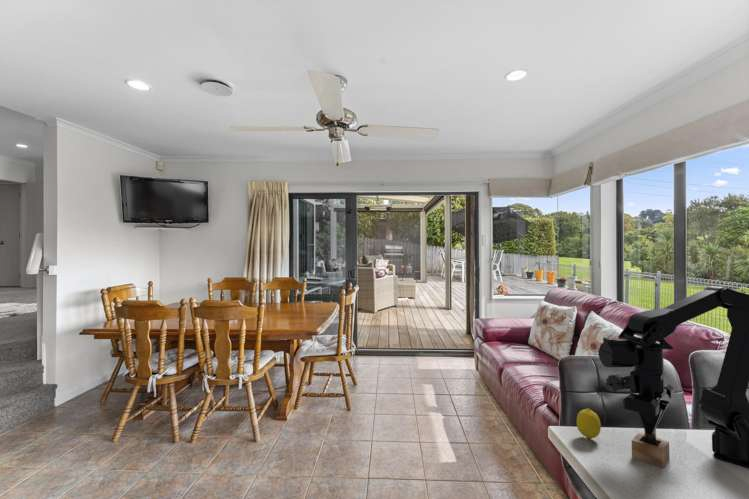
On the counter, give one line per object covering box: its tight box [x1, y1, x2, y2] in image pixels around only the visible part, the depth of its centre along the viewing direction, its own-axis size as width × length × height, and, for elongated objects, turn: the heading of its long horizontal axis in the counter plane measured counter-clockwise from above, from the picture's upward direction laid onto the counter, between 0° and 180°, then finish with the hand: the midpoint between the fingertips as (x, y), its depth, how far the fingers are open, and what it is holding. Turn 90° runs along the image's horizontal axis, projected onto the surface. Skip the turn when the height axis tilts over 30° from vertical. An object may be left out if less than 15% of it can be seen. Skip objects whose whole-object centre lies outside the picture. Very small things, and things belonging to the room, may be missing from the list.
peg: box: [643, 427, 657, 445], centre depth 86 cm, size 2×2×8 cm
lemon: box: [576, 408, 602, 440], centre depth 95 cm, size 6×6×8 cm
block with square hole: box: [631, 432, 670, 469], centre depth 86 cm, size 6×6×4 cm
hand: (650, 432), depth 86 cm, fingers closed on peg, 2 cm apart
